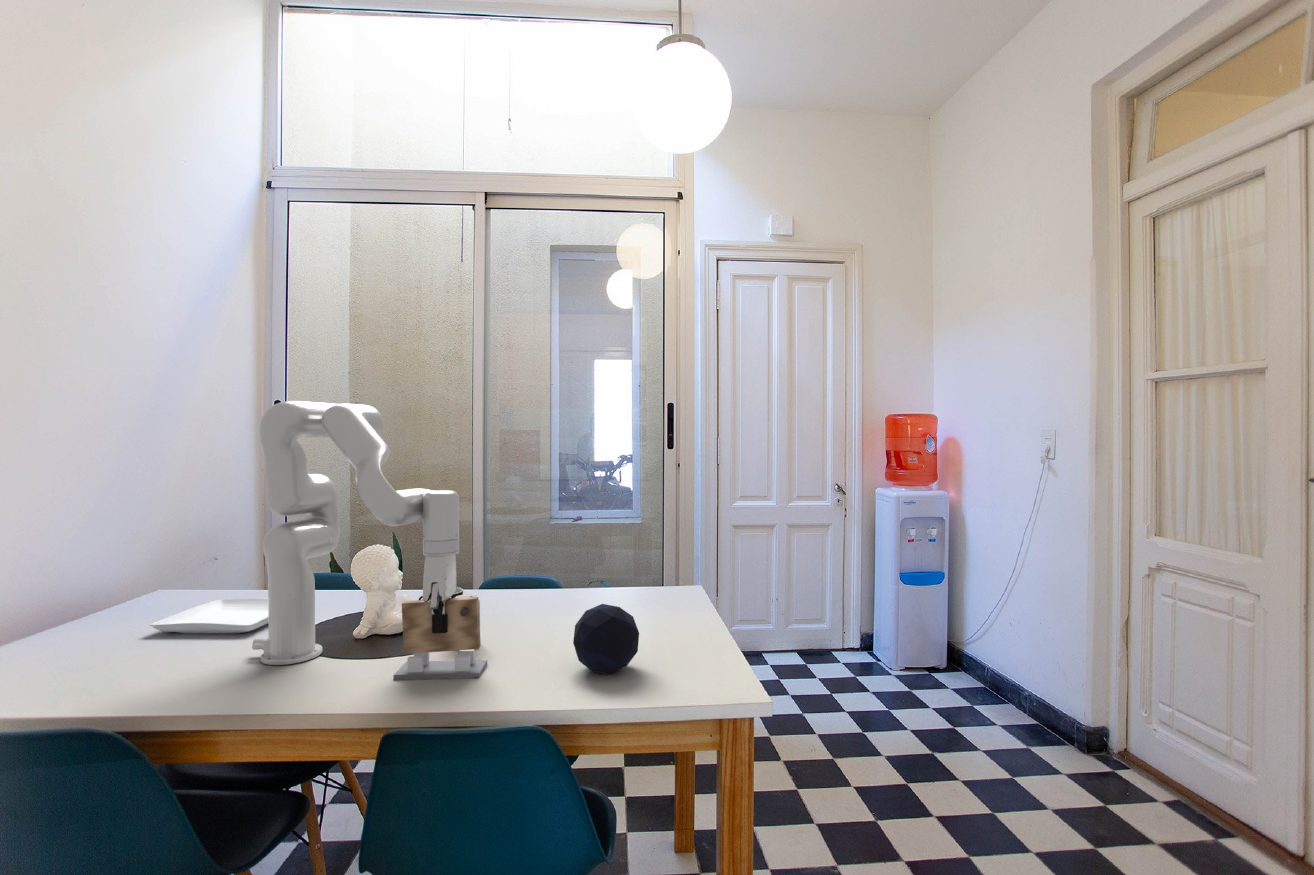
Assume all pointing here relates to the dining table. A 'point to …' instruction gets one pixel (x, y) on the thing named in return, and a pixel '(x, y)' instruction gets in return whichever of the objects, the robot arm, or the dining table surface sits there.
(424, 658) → the hinge base
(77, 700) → the dining table surface
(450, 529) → the robot arm
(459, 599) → the door panel
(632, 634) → the decorative orb
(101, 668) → the dining table surface
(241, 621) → the square plate
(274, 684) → the dining table surface
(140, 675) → the dining table surface
